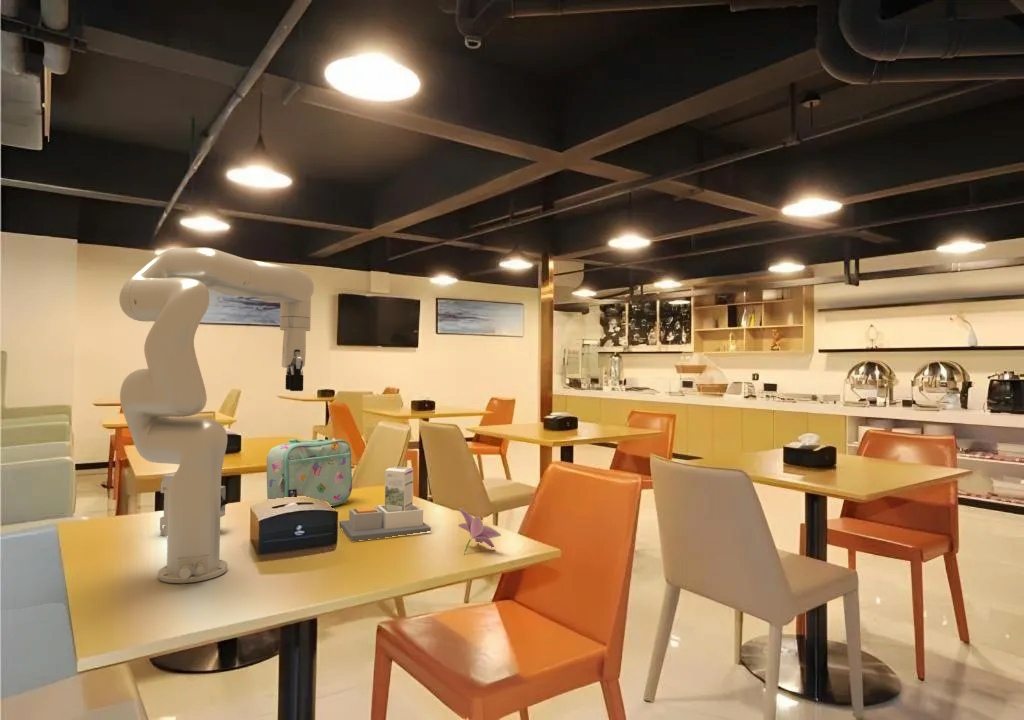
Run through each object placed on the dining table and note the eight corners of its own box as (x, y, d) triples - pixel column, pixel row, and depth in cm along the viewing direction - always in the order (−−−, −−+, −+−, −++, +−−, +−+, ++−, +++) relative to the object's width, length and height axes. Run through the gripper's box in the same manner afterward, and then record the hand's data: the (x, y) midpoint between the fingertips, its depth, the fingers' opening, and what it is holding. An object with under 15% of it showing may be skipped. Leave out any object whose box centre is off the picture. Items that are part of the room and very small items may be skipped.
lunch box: (285, 521, 169) (286, 443, 170) (260, 516, 174) (262, 440, 175) (355, 503, 192) (356, 434, 193) (331, 499, 198) (332, 432, 198)
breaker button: (375, 525, 158) (376, 510, 158) (358, 527, 156) (358, 511, 156) (371, 521, 162) (371, 506, 162) (354, 523, 160) (355, 507, 160)
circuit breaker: (216, 537, 152) (218, 476, 152) (159, 536, 152) (161, 475, 152) (231, 529, 159) (232, 471, 160) (176, 528, 160) (178, 470, 160)
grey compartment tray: (430, 533, 158) (431, 512, 158) (352, 542, 149) (352, 519, 149) (412, 519, 173) (412, 499, 173) (339, 526, 164) (339, 506, 164)
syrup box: (413, 521, 165) (414, 466, 165) (403, 526, 159) (404, 470, 159) (393, 519, 166) (394, 465, 166) (383, 524, 160) (384, 469, 161)
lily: (501, 563, 138) (512, 521, 142) (454, 546, 135) (467, 504, 139) (481, 565, 148) (492, 526, 153) (437, 549, 145) (450, 510, 149)
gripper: (276, 326, 167) (275, 389, 167) (283, 322, 152) (282, 391, 151) (305, 327, 170) (304, 389, 170) (315, 323, 155) (313, 391, 155)
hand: (294, 390), depth 161 cm, fingers open, 9 cm apart
